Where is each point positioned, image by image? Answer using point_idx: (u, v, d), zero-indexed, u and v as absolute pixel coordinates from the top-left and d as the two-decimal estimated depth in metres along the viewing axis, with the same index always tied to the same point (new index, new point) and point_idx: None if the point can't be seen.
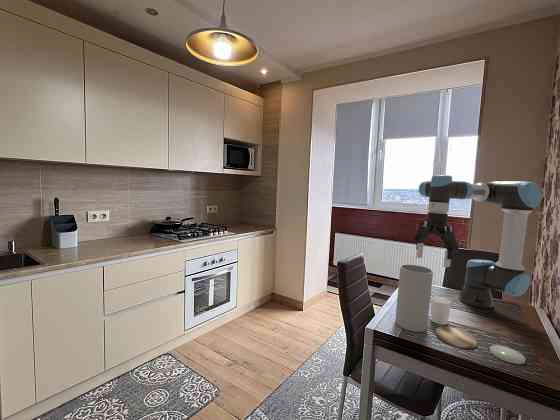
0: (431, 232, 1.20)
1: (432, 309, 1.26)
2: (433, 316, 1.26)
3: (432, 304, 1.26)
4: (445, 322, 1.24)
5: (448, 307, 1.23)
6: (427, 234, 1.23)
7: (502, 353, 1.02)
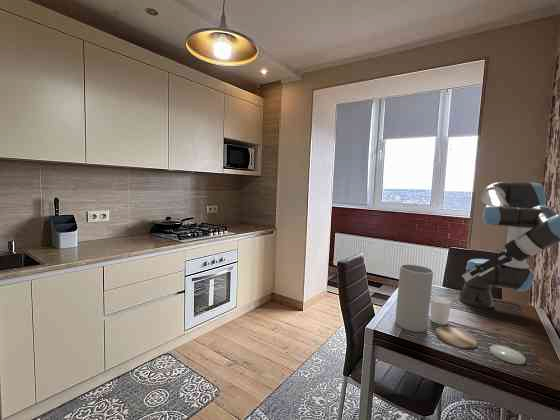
0: (501, 262, 1.08)
1: (432, 309, 1.26)
2: (433, 316, 1.26)
3: (432, 304, 1.26)
4: (445, 322, 1.24)
5: (448, 307, 1.23)
6: None
7: (502, 353, 1.02)
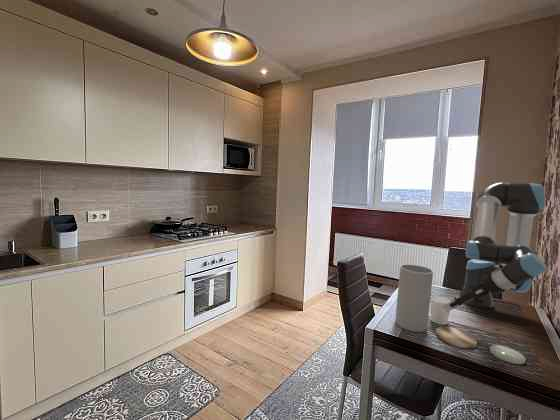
0: None
1: (432, 309, 1.26)
2: (433, 316, 1.26)
3: (432, 304, 1.26)
4: (445, 322, 1.24)
5: None
6: None
7: (502, 353, 1.02)
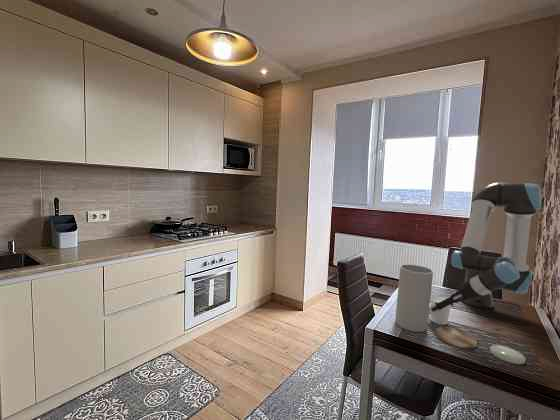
0: None
1: None
2: (433, 316, 1.26)
3: (432, 304, 1.26)
4: (445, 322, 1.24)
5: (448, 307, 1.23)
6: None
7: (502, 353, 1.02)
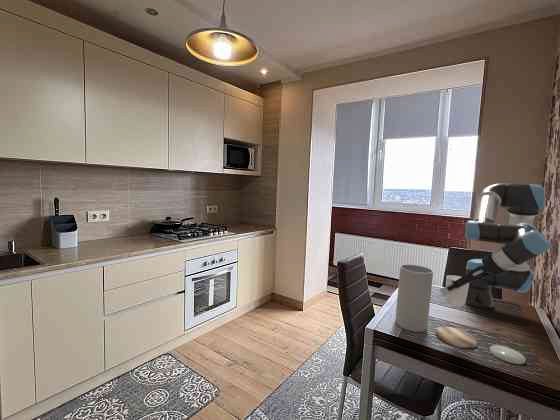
0: (478, 277, 1.06)
1: None
2: (449, 296, 1.13)
3: (448, 283, 1.13)
4: (463, 303, 1.11)
5: (466, 286, 1.10)
6: None
7: (502, 353, 1.02)
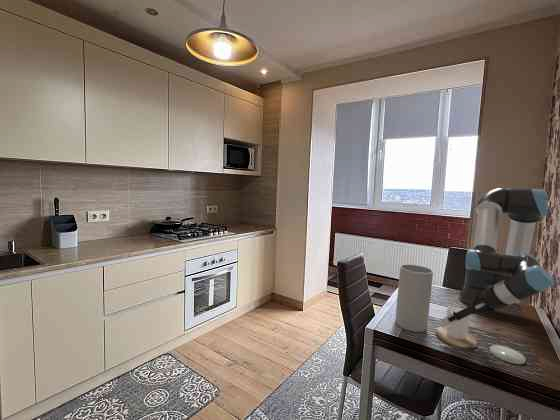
0: None
1: None
2: (450, 329, 1.12)
3: None
4: (464, 336, 1.10)
5: (467, 320, 1.09)
6: None
7: (502, 353, 1.02)
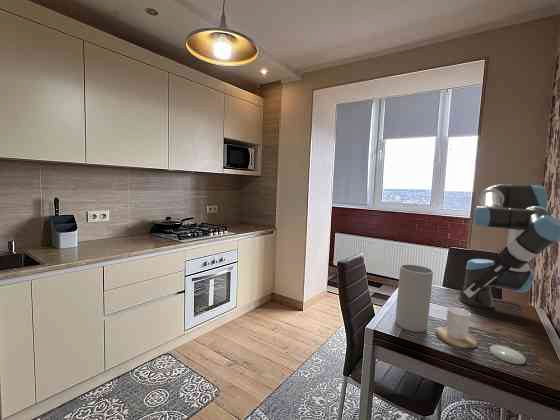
0: None
1: (449, 322, 1.12)
2: (450, 330, 1.12)
3: (449, 316, 1.12)
4: (464, 337, 1.10)
5: (467, 320, 1.09)
6: None
7: (502, 353, 1.02)
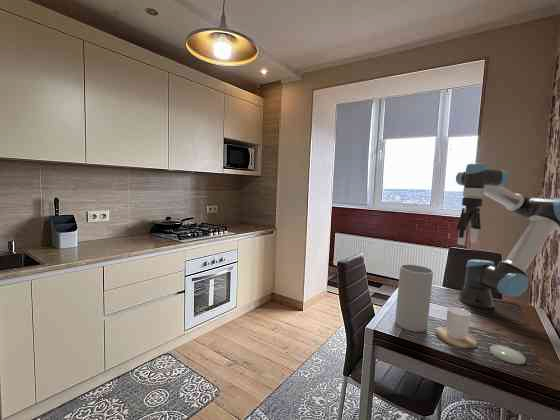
0: (472, 216, 1.28)
1: (449, 322, 1.12)
2: (450, 330, 1.12)
3: (449, 316, 1.12)
4: (464, 337, 1.10)
5: (467, 320, 1.09)
6: None
7: (502, 353, 1.02)
